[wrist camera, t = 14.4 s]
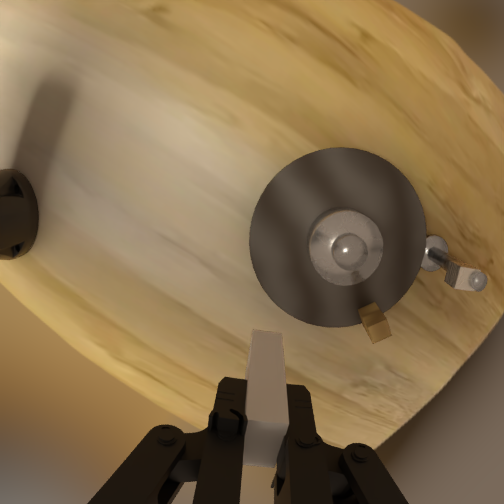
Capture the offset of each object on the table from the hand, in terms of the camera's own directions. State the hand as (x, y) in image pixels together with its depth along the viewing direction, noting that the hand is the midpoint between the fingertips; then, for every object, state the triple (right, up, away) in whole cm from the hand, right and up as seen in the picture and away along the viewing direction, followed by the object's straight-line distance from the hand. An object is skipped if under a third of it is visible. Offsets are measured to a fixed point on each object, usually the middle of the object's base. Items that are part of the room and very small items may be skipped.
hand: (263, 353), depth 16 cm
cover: (+10, +7, +20) cm, 23 cm away
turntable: (+10, +7, +22) cm, 25 cm away
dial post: (+24, +5, +23) cm, 34 cm away
